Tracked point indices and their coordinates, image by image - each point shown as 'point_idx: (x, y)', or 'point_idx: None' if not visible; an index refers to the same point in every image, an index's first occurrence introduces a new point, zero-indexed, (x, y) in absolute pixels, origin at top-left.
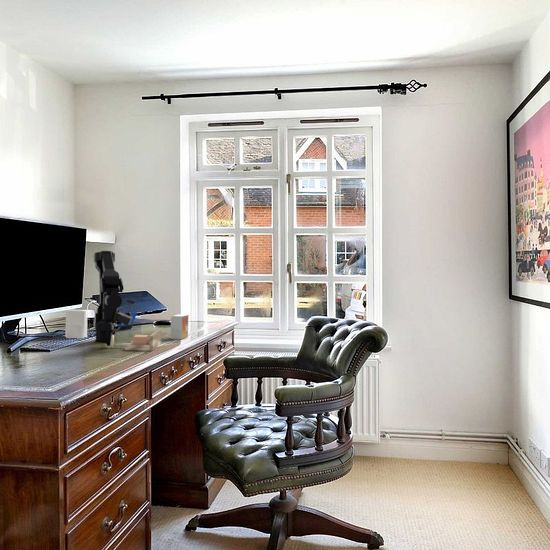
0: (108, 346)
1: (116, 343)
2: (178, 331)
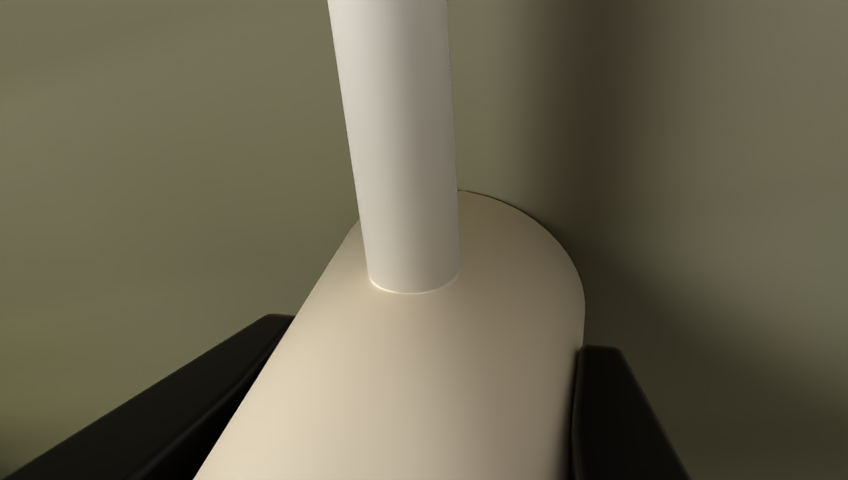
0: (577, 355)
1: (443, 174)
2: None
